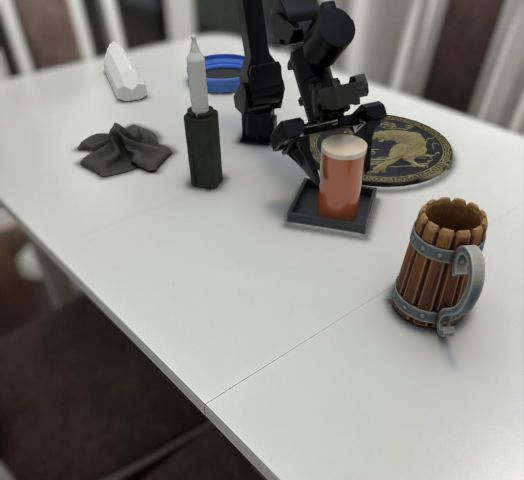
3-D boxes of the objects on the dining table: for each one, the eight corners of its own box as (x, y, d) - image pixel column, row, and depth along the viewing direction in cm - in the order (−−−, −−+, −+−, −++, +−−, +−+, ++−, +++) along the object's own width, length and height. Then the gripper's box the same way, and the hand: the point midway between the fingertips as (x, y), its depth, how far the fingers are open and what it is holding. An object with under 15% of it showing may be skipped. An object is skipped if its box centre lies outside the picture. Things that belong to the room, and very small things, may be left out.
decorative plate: (291, 174, 98) (313, 106, 118) (291, 183, 99) (312, 115, 119) (457, 190, 94) (450, 118, 114) (454, 200, 95) (448, 127, 115)
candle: (224, 177, 101) (214, 30, 83) (214, 190, 98) (201, 40, 80) (200, 172, 103) (185, 27, 84) (189, 185, 99) (171, 37, 81)
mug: (382, 283, 79) (400, 193, 68) (451, 278, 80) (480, 189, 69) (411, 360, 69) (438, 269, 58) (490, 354, 69) (531, 263, 58)
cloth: (179, 168, 104) (175, 138, 99) (82, 184, 100) (73, 153, 96) (159, 121, 118) (155, 93, 114) (74, 133, 115) (66, 104, 110)
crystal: (92, 55, 137) (107, 88, 121) (113, 36, 136) (131, 68, 120) (112, 79, 142) (129, 114, 127) (132, 61, 141) (152, 95, 126)
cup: (312, 219, 89) (317, 152, 81) (321, 198, 94) (326, 131, 85) (354, 226, 88) (363, 158, 79) (361, 204, 93) (370, 137, 84)
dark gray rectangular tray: (286, 226, 90) (287, 213, 88) (304, 189, 98) (304, 177, 96) (363, 238, 87) (365, 225, 85) (375, 200, 95) (377, 187, 93)
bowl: (258, 94, 128) (258, 79, 125) (184, 94, 128) (182, 79, 126) (259, 67, 140) (259, 52, 138) (191, 67, 141) (190, 53, 138)
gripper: (278, 65, 74) (310, 173, 75) (390, 45, 79) (419, 147, 80) (257, 102, 85) (285, 196, 86) (357, 82, 90) (383, 172, 91)
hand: (343, 177), depth 86 cm, fingers open, 9 cm apart
